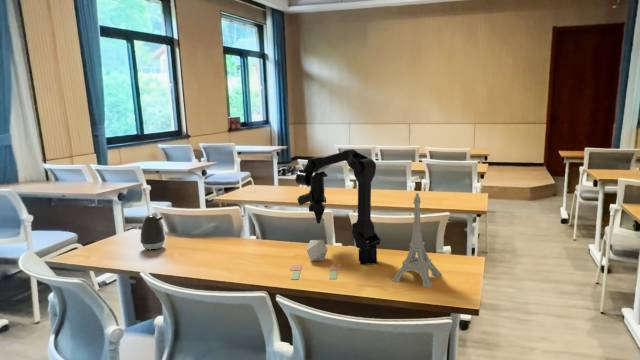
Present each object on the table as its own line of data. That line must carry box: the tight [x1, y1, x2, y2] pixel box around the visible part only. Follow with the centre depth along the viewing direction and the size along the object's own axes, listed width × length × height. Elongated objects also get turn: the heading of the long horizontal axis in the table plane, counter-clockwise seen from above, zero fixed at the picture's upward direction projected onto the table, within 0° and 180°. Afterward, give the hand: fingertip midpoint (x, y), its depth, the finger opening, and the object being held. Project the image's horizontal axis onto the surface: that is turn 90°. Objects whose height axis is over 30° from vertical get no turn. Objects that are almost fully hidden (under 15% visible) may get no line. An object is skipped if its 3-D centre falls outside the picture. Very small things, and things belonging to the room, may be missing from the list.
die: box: [306, 239, 328, 262], centre depth 173 cm, size 8×9×10 cm
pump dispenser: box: [140, 214, 166, 251], centre depth 194 cm, size 10×10×15 cm
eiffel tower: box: [391, 192, 442, 289], centre depth 150 cm, size 13×13×30 cm
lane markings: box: [289, 263, 342, 281], centre depth 161 cm, size 19×14×1 cm
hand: (318, 223), depth 186 cm, fingers closed
